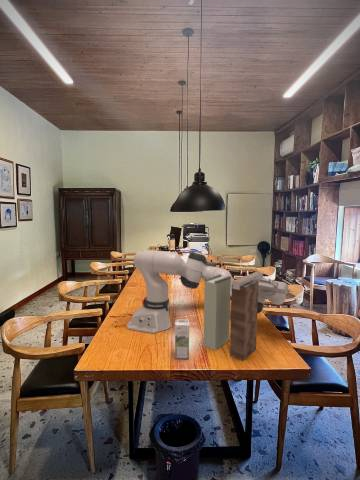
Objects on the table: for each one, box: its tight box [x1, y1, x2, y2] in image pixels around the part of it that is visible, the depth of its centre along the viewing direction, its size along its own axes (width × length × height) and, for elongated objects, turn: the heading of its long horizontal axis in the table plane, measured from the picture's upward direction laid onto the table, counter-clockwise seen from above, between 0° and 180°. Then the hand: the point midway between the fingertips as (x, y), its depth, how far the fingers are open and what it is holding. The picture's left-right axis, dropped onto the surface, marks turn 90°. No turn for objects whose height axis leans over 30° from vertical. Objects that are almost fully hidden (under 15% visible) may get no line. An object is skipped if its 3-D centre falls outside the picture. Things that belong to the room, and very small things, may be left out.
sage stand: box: [203, 274, 231, 351], centre depth 123 cm, size 12×6×30 cm, turn 140°
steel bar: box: [233, 271, 264, 290], centre depth 115 cm, size 22×3×3 cm, turn 140°
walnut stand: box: [229, 281, 259, 361], centre depth 115 cm, size 12×6×30 cm, turn 140°
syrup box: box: [174, 319, 190, 360], centre depth 113 cm, size 6×6×14 cm
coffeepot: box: [206, 259, 222, 268], centre depth 236 cm, size 15×9×18 cm, turn 70°
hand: (259, 279), depth 123 cm, fingers open, 8 cm apart
